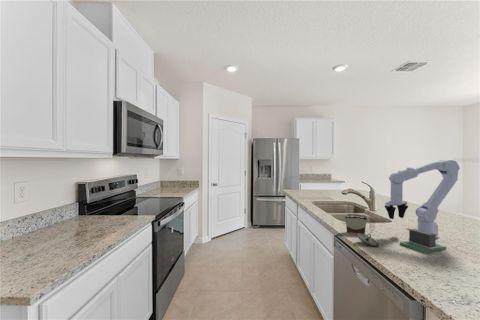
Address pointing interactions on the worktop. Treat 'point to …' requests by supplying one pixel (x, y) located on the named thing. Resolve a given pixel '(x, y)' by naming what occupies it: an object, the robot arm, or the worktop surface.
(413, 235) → the plug housing
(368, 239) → the lid
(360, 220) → the food container
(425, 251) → the header board
